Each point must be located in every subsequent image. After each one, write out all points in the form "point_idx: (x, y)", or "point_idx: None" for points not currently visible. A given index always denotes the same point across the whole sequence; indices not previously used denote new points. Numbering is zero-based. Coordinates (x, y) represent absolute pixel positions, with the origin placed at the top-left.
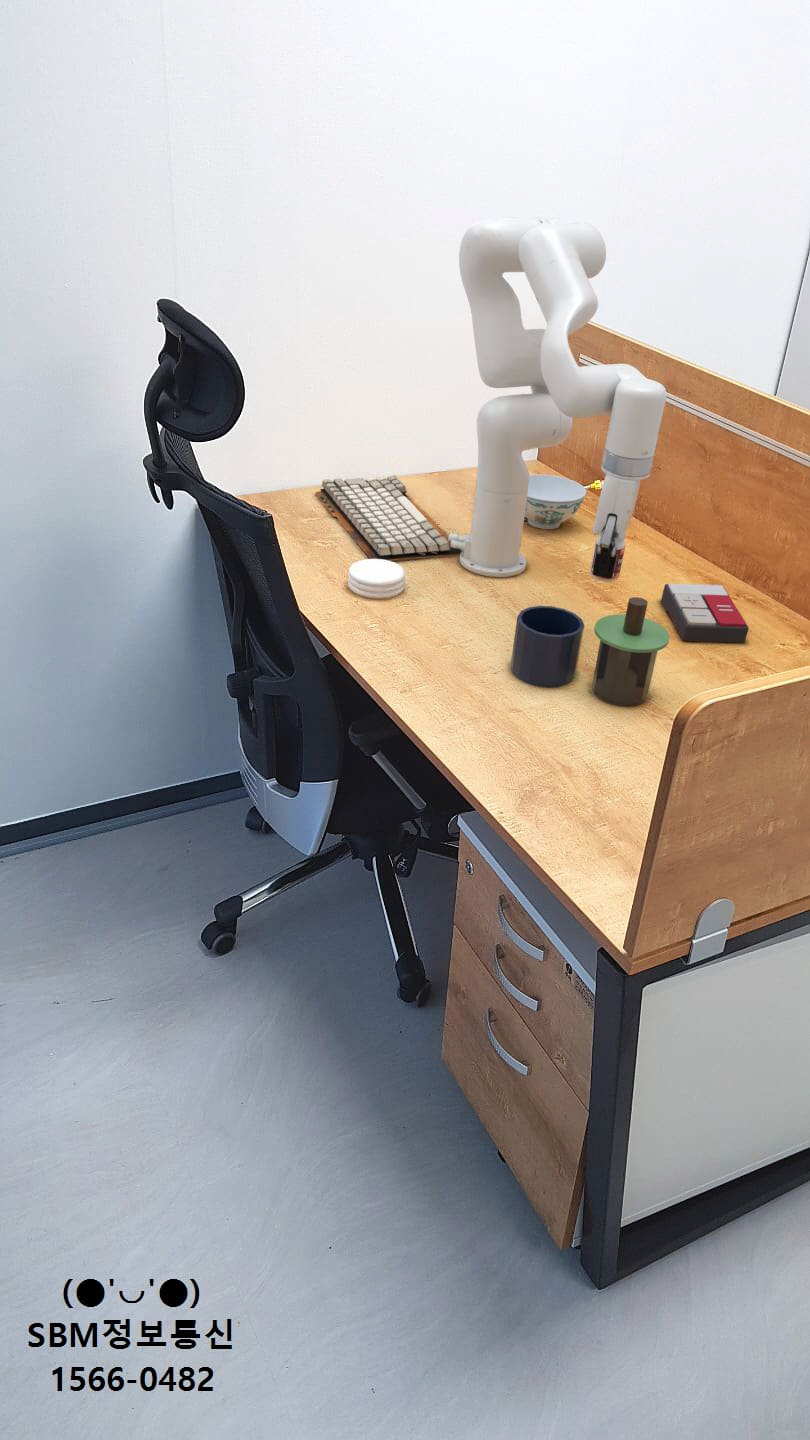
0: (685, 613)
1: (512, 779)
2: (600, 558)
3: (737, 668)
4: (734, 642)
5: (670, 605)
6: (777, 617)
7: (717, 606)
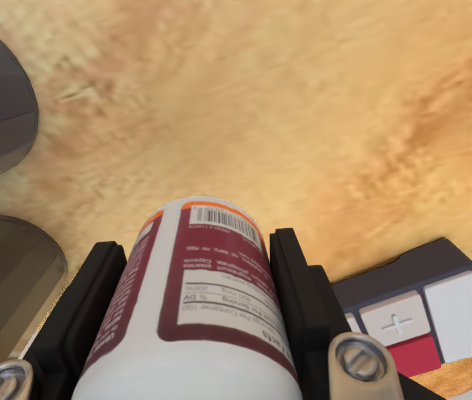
0: None
1: None
2: (29, 353)
3: None
4: None
5: (394, 277)
6: (434, 383)
7: None
